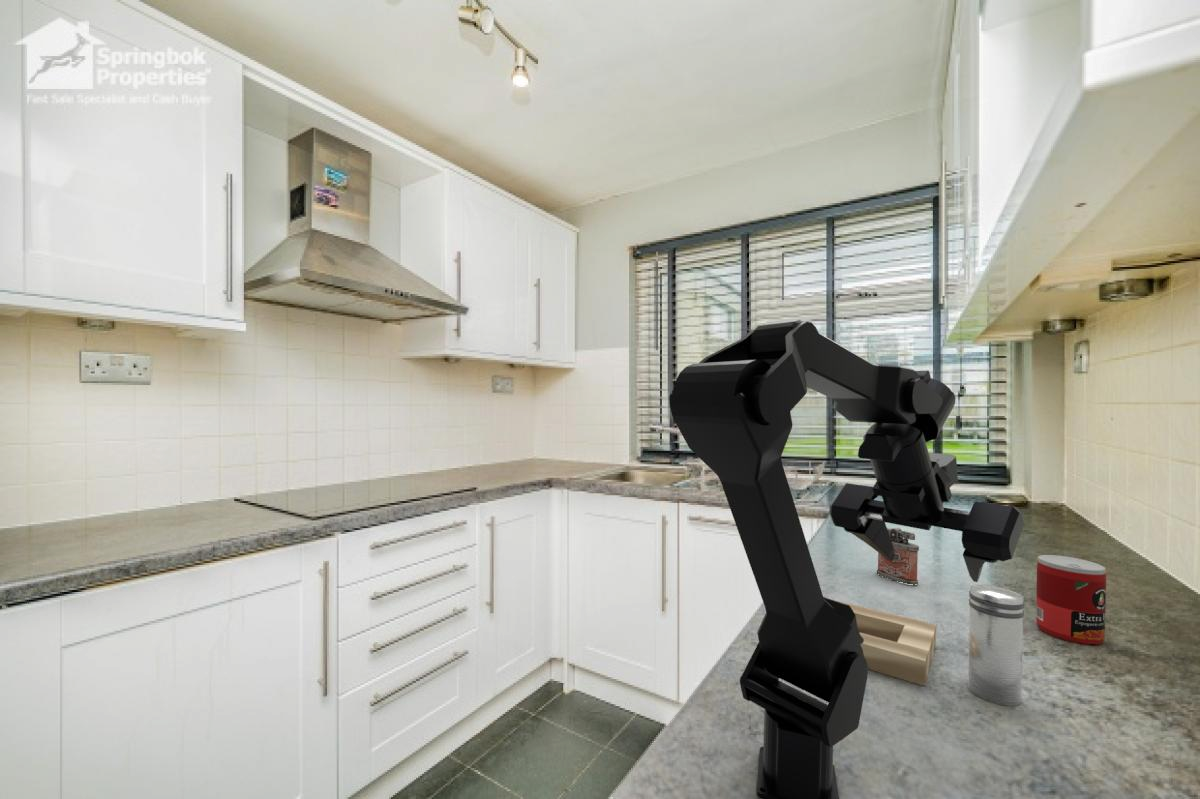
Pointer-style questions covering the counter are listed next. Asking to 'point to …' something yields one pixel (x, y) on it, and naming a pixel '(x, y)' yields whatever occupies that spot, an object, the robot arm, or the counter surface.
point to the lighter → (900, 558)
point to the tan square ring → (896, 643)
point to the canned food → (1071, 599)
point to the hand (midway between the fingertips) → (932, 568)
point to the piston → (995, 644)
